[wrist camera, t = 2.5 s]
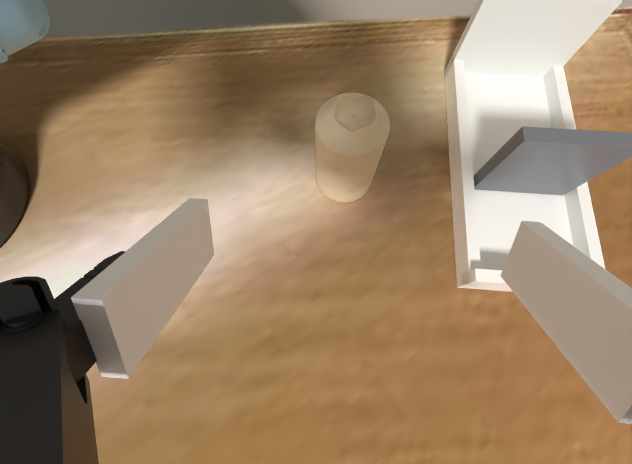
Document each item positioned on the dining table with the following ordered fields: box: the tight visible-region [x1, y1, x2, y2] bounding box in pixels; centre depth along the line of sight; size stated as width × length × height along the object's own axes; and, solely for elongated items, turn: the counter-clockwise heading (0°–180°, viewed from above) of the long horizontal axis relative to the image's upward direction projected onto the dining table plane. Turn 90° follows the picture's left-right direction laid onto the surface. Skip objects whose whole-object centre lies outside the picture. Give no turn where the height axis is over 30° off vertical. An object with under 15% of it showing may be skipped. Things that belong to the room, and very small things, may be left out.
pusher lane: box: [444, 0, 622, 292], centre depth 27 cm, size 11×24×9 cm, turn 175°
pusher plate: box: [474, 126, 632, 195], centre depth 25 cm, size 8×1×8 cm, turn 86°
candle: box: [315, 93, 390, 203], centre depth 26 cm, size 6×6×10 cm
